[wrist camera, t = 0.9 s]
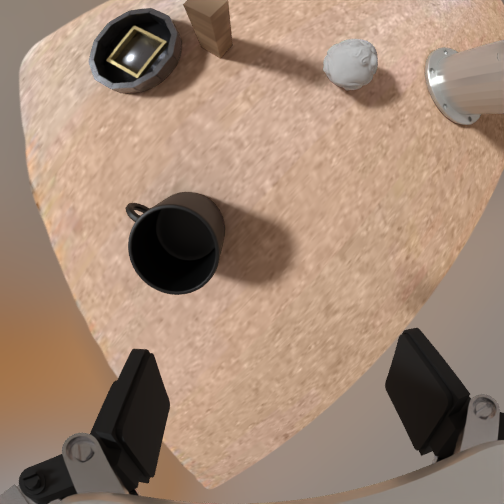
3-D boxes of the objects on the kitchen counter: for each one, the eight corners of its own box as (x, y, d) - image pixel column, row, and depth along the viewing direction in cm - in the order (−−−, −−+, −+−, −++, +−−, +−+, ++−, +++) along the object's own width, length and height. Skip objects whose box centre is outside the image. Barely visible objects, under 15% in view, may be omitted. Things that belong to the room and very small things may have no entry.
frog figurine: (372, 72, 29) (396, 59, 23) (342, 105, 31) (364, 96, 24) (336, 41, 28) (355, 22, 21) (305, 74, 30) (319, 57, 23)
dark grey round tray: (137, 9, 25) (129, -1, 22) (199, 39, 28) (195, 29, 24) (87, 73, 28) (74, 67, 25) (144, 108, 30) (134, 104, 27)
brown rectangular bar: (213, 34, 27) (201, -13, 16) (232, 45, 28) (228, 0, 17) (201, 47, 28) (183, 4, 17) (220, 58, 29) (210, 17, 17)
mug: (160, 166, 33) (133, 171, 25) (239, 218, 36) (238, 240, 27) (125, 227, 35) (95, 250, 27) (200, 275, 38) (189, 310, 30)
